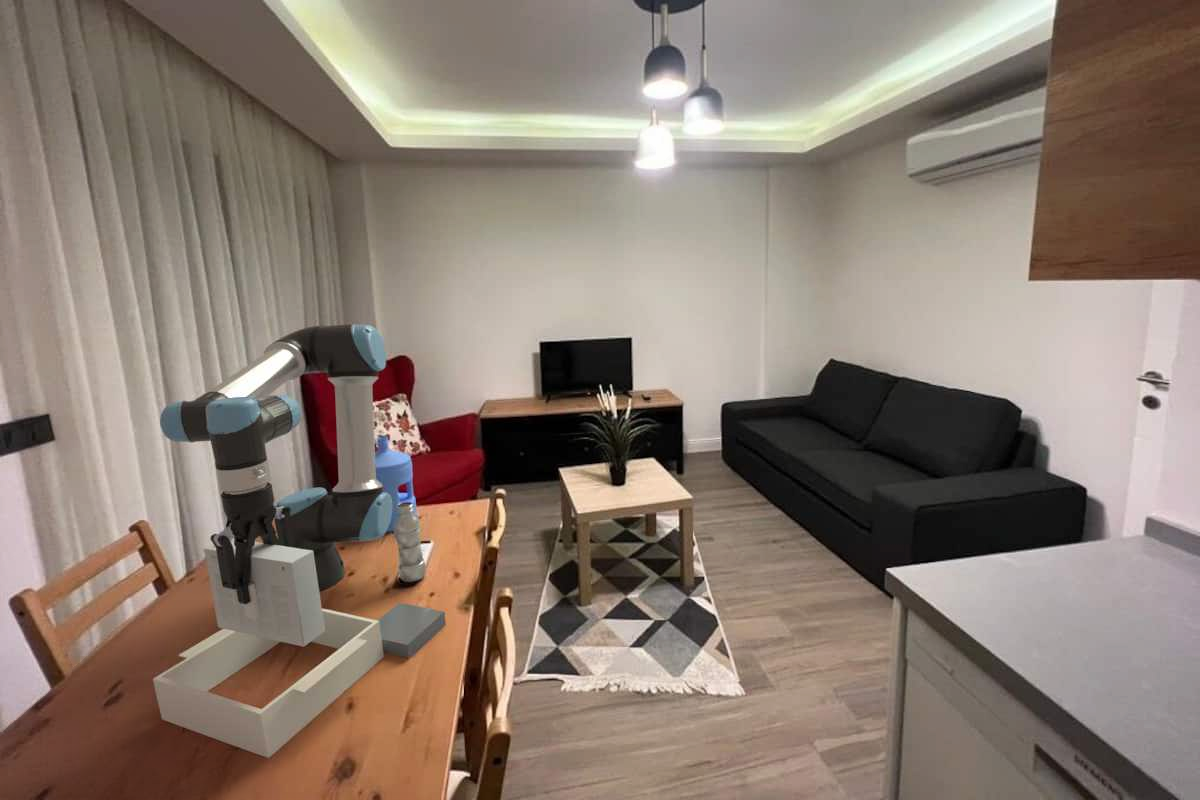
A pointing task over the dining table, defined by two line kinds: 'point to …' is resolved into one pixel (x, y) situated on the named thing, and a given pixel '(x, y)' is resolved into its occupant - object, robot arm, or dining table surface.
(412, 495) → the water jug
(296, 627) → the skincare box
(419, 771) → the dining table surface
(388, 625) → the plate
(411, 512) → the plastic bottle
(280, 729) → the tray
